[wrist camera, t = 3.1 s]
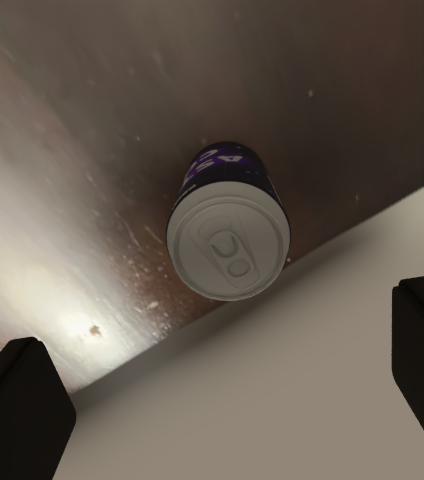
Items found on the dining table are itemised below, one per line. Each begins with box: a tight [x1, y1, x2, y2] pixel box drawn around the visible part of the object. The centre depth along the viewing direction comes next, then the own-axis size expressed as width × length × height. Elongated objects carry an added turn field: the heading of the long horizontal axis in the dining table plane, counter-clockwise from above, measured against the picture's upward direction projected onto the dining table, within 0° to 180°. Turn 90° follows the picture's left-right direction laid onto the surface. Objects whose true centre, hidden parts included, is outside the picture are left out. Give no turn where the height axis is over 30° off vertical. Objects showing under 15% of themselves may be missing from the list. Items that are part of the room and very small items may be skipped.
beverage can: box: [166, 142, 291, 301], centre depth 21 cm, size 6×6×12 cm
